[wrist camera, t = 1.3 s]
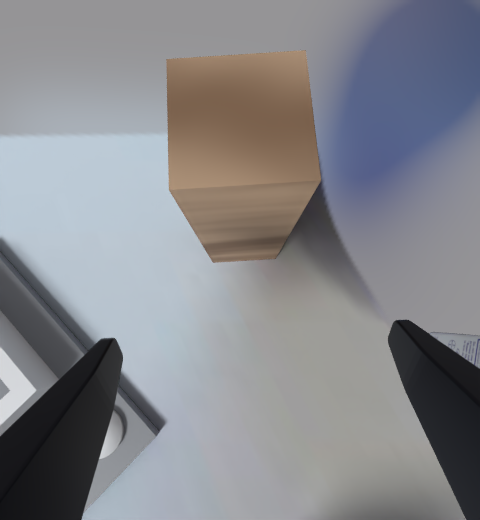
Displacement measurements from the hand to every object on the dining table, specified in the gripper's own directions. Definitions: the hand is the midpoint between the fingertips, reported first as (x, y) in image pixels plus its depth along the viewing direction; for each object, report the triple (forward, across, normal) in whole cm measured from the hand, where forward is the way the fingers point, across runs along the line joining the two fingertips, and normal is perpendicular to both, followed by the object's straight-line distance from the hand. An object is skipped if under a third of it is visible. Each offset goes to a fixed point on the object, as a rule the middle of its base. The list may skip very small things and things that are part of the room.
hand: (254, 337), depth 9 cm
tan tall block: (+15, 0, +4) cm, 15 cm away
